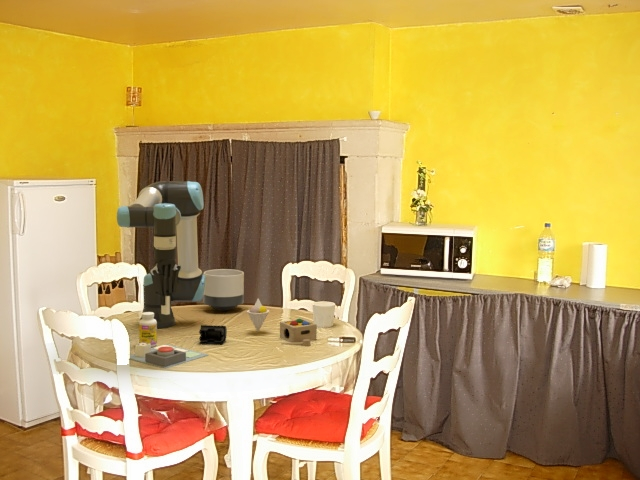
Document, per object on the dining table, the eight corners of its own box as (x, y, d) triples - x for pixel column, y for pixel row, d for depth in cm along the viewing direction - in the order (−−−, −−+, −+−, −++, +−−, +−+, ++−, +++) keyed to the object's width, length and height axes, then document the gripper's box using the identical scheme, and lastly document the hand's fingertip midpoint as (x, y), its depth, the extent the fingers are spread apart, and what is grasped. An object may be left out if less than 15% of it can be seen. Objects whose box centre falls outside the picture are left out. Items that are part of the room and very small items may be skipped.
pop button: (153, 360, 248) (153, 348, 248) (166, 356, 253) (166, 345, 252) (165, 363, 245) (165, 351, 244) (177, 359, 249) (177, 348, 249)
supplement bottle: (138, 348, 266) (138, 315, 265) (139, 343, 273) (139, 311, 271) (156, 347, 268) (156, 314, 266) (157, 343, 274) (156, 311, 273)
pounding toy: (267, 341, 281) (267, 321, 280) (298, 334, 293) (298, 315, 292) (299, 350, 269) (299, 330, 268) (329, 342, 281) (330, 323, 280)
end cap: (226, 340, 280) (226, 324, 280) (223, 345, 273) (223, 328, 272) (202, 339, 281) (202, 323, 280) (198, 344, 274) (198, 327, 273)
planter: (248, 305, 345) (249, 270, 343) (235, 314, 326) (235, 276, 324) (212, 303, 349) (212, 268, 347) (197, 311, 331) (197, 274, 329)
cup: (308, 327, 305) (308, 304, 304) (317, 322, 314) (317, 300, 313) (329, 329, 301) (330, 307, 300) (337, 324, 311) (338, 302, 309)
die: (135, 355, 254) (135, 344, 254) (141, 353, 258) (141, 342, 258) (144, 357, 253) (144, 346, 253) (150, 354, 257) (150, 343, 256)
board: (123, 358, 254) (123, 355, 253) (167, 345, 271) (167, 343, 271) (165, 369, 241) (165, 367, 241) (208, 356, 258) (208, 354, 258)
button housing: (145, 361, 248) (145, 353, 247) (166, 355, 256) (166, 347, 255) (164, 367, 242) (164, 358, 242) (185, 360, 250) (185, 352, 250)
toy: (265, 336, 288) (266, 300, 286) (243, 334, 289) (244, 299, 288) (271, 331, 297) (272, 296, 295) (250, 329, 299) (250, 295, 297)
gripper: (158, 251, 236) (158, 319, 240) (186, 247, 247) (186, 312, 250) (143, 248, 241) (144, 315, 244) (171, 245, 251) (172, 308, 254)
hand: (165, 313), depth 247 cm, fingers closed
